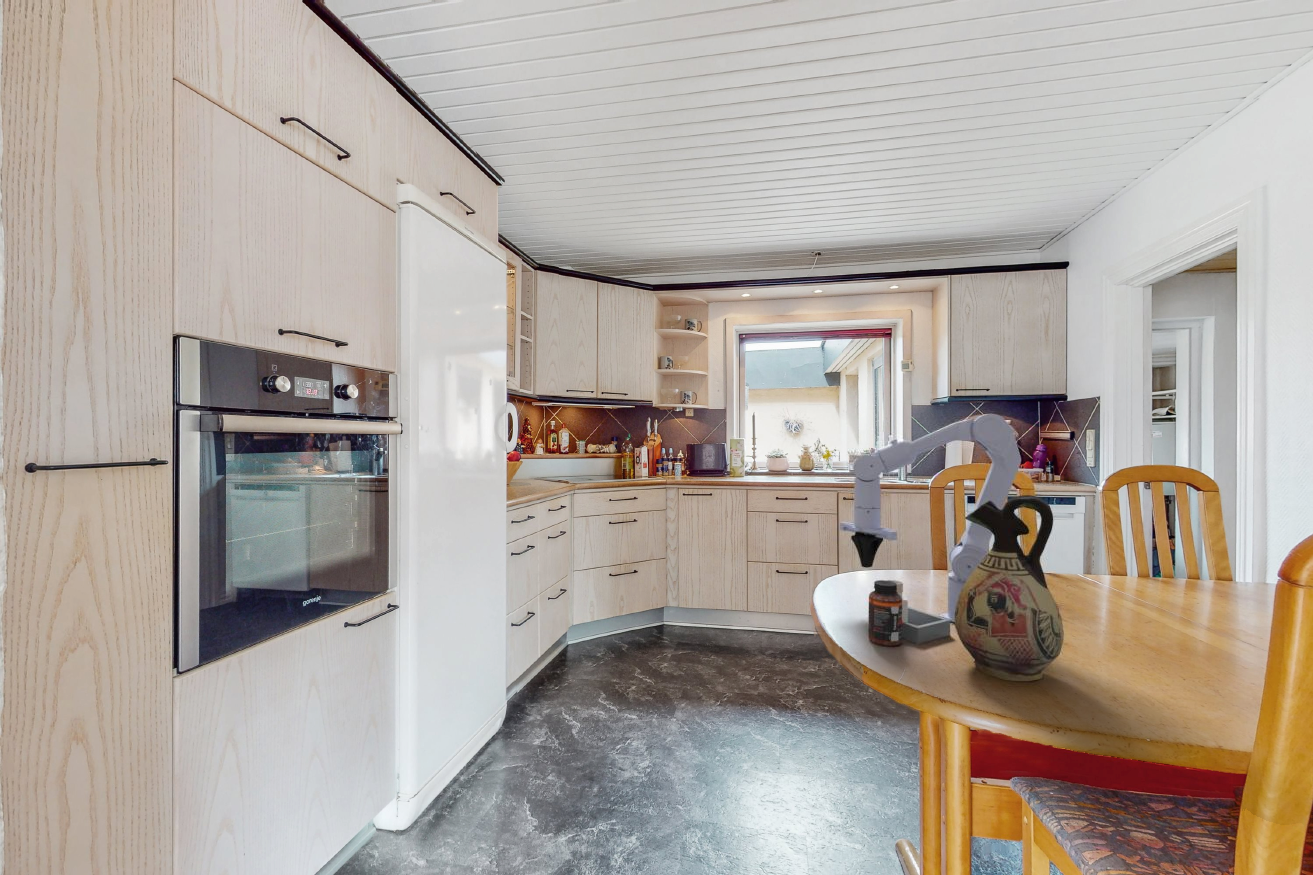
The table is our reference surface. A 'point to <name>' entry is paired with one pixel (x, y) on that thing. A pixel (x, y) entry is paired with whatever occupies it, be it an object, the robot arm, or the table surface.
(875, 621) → the supplement bottle
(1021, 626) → the ceramic jug
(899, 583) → the pepper shaker
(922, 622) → the box
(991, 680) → the table surface
